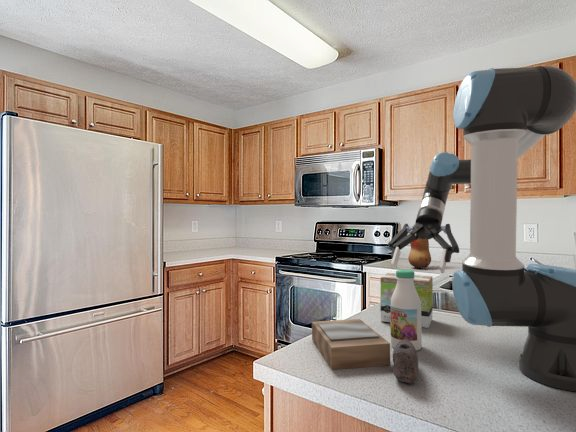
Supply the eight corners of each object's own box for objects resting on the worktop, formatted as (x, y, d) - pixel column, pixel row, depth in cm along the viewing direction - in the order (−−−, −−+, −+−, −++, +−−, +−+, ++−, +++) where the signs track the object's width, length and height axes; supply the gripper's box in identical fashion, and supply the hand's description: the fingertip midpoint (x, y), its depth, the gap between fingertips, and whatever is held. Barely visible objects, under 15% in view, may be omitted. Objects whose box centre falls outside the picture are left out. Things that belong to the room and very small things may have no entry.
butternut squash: (404, 268, 228) (403, 229, 228) (415, 266, 237) (415, 228, 237) (424, 271, 217) (424, 229, 217) (435, 268, 226) (435, 228, 226)
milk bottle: (399, 339, 100) (398, 267, 100) (426, 346, 94) (426, 270, 94) (385, 346, 95) (384, 270, 94) (413, 354, 89) (412, 274, 89)
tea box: (380, 322, 116) (379, 276, 116) (386, 314, 125) (386, 272, 125) (429, 328, 109) (429, 280, 109) (433, 320, 118) (432, 275, 118)
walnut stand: (390, 364, 83) (390, 341, 83) (331, 369, 81) (331, 345, 81) (359, 336, 103) (359, 317, 103) (312, 339, 101) (311, 320, 101)
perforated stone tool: (395, 358, 87) (394, 330, 87) (418, 361, 85) (417, 332, 85) (390, 387, 73) (390, 352, 73) (418, 391, 71) (417, 355, 71)
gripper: (475, 223, 110) (466, 280, 98) (394, 223, 124) (378, 272, 112) (471, 205, 105) (462, 263, 93) (389, 207, 120) (371, 257, 108)
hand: (416, 268), depth 103 cm, fingers open, 13 cm apart
